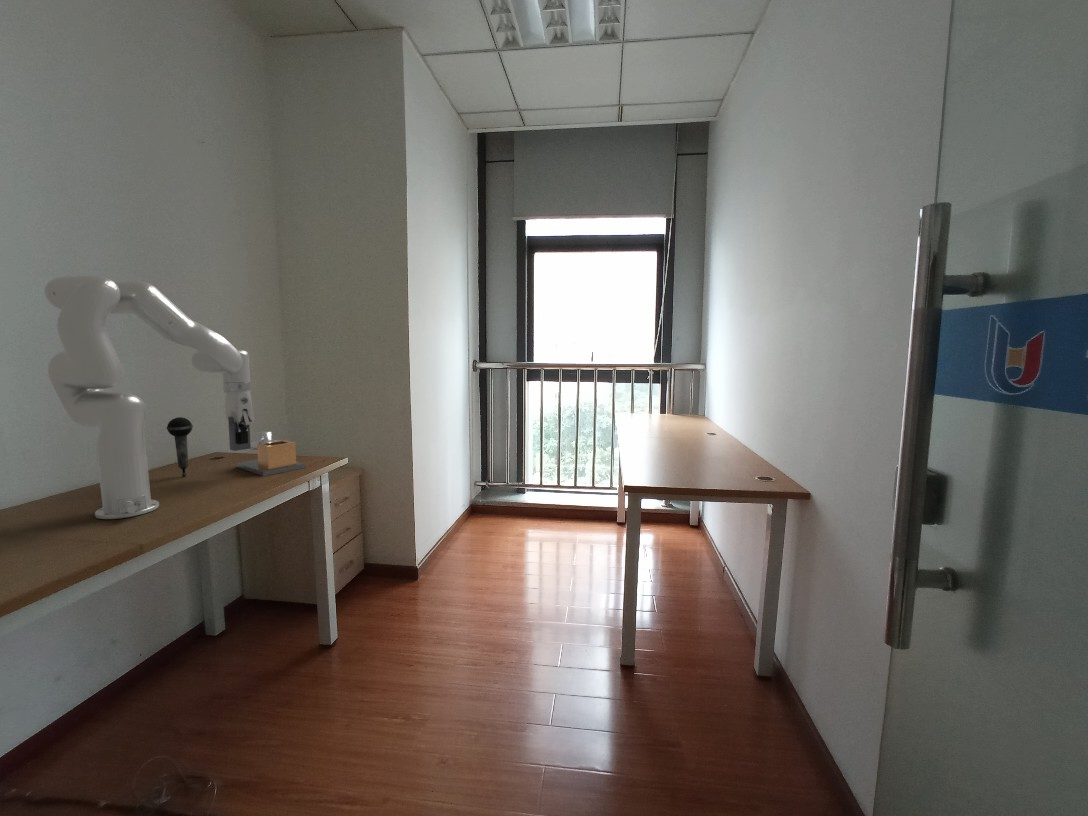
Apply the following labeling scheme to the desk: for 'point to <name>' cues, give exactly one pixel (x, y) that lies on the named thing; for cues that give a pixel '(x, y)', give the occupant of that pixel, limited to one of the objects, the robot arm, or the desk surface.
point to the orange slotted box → (272, 456)
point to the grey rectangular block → (232, 436)
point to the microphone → (180, 439)
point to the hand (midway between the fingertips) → (239, 442)
